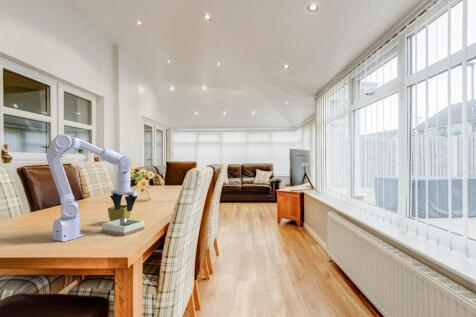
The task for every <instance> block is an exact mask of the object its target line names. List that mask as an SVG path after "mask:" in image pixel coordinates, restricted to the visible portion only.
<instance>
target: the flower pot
mask: <svg viewBox="0 0 476 317" xmlns="http://www.w3.org/2000/svg"><path fill="white" fill-rule="evenodd" d="M131 212H132V211H129V212H128V211H127V204H121V207H120V209H119V210H115V206H114V205H112V206H110V207H107V214H108V219H109V222H110V221H114V220H118V219H120V218H123V217H126V218H127V219H130V216H131Z"/></svg>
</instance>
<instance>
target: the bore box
mask: <svg viewBox="0 0 476 317" xmlns="http://www.w3.org/2000/svg"><path fill="white" fill-rule="evenodd" d="M144 230H145V220H138V219H134V218H133V219H131V218H129V219H127V226H120V219H118V220H114V221H110V220H109V221H107V222H103V223H101V233H103V234H108V235H109V234H111V235H115V236H121V237H126V236H129V235H132V234H135V233H138V232H140V231H141V232H142V231H144Z"/></svg>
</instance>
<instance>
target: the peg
mask: <svg viewBox="0 0 476 317" xmlns="http://www.w3.org/2000/svg"><path fill="white" fill-rule="evenodd" d="M120 226H127V218H126V217H123V218H120Z"/></svg>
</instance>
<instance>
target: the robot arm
mask: <svg viewBox="0 0 476 317" xmlns="http://www.w3.org/2000/svg"><path fill="white" fill-rule="evenodd" d="M70 149H83V150H85V151H87V152H90V153H93V154H94V155H98V156H99V157H100V160H102V161H105V162H107V163H109V164H112V165H114V166H117V172H116V174H117V175H116V177H117V178H116V183H117V184H116V189H111V190H110V194H111V195H110V196H109V197H110V198H111V200H112V202H113V206H115V210H119V209H120V207H121V205H122V203H121V202H122V198H123V196H124V199H125V201H126V205H127V211H128V212H129V211H131V212H132V211H133V208H134V205H135V203H136V202H135V201H136V200H137V199H138V191H137V190H136V191H135V190H132V189H131V179H132V178H131V177H132V176H131V167H132V160H131V158H130V157H128V156H126V155H123V153H122V152H121V153H119V152H117V151H115V150H113V148H111V147H110V148H109V147H108V148H107V147H105V148H100V147H99V146H96V145H94V144H92V143H90V142H88V141H85V140H84V139H82V138H77V137H74V136H70V135H68V134H66V133H60V134H58V135H56V136H55V137H54V138H53V139H51V141H50V146H49V148H48V150H47V153H46V155H45V156H46V157H45V158H46V160H47V164H48V166H49V167H48V168H49V170H50V173H51V175H52V179H53V182H54V183H55V186H56V191H57V193H58V196H59V200H60V204H61V207H60V208H61V210H60V213H61V215H60V217H59V218H57V219H56V220H54V221H53V224H52V237H51V240H54V241H57V242H62V243H63V242H68V241H70V240H75V239H79V238H81V237H85V236H86V235H85V234H83V233H81V214H80V213H79V211H80V203H79V201H77V200H76V198H75V196H74V194H73V191H72V188H71V185H70V182H69V179H68V177H67V174H66V170H65V168H64V164H63V161H62V157H63V155H65V153H66V152H67V151H68V150H70Z"/></svg>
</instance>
